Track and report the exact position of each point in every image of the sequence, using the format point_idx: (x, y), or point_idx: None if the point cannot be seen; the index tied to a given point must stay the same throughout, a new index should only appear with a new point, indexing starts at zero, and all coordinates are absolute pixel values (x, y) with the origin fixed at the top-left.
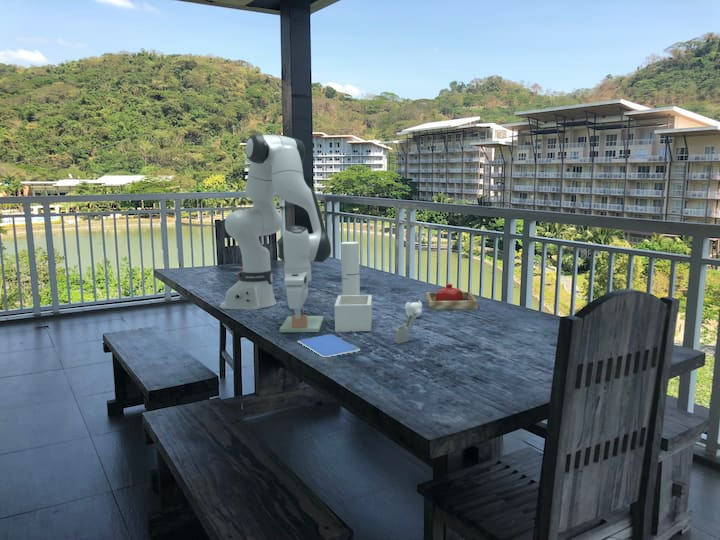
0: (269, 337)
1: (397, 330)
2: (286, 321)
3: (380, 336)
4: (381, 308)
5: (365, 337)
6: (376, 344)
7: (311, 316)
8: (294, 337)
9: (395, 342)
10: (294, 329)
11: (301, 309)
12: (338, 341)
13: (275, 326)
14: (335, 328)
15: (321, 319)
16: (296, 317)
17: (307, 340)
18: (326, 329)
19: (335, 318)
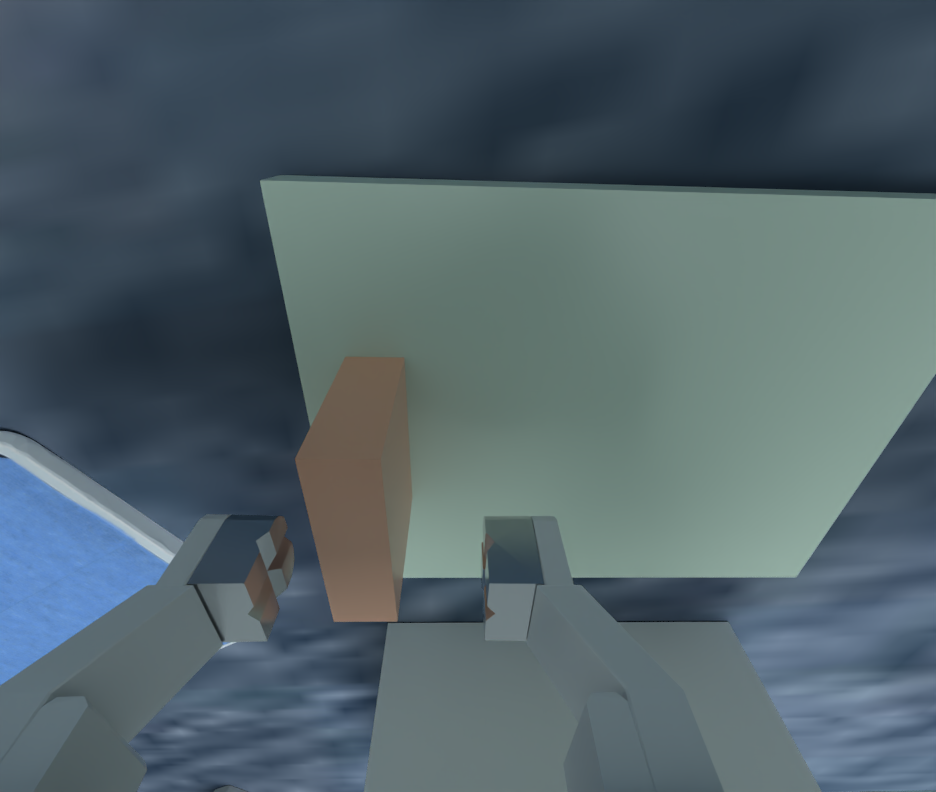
0: (24, 30)
1: None
2: (703, 226)
3: (316, 757)
4: (892, 750)
5: (286, 723)
6: (174, 751)
7: (832, 491)
8: (157, 382)
9: (224, 788)
10: (305, 384)
11: (491, 626)
12: None
13: (684, 14)
14: (384, 650)
15: (663, 572)
16: (204, 536)
17: (30, 515)
18: (457, 578)
19: (370, 746)
